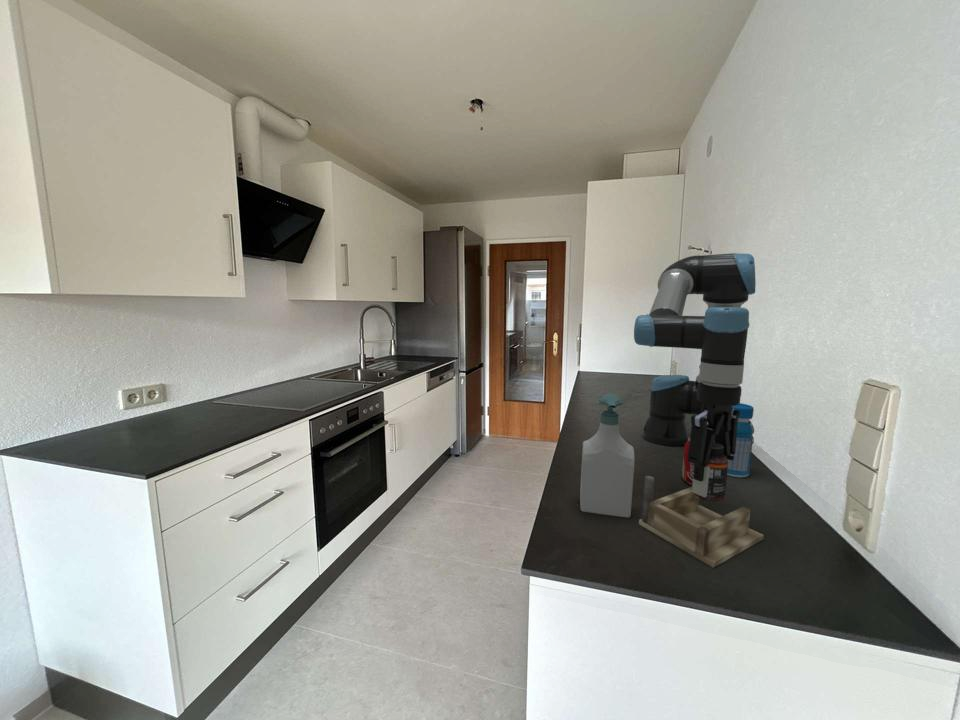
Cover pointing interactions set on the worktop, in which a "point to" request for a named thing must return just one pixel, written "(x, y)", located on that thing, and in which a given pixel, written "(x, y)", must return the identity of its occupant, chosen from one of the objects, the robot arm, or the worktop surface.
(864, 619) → the worktop surface
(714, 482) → the supplement bottle
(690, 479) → the soda can
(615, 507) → the soap bottle
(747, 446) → the beverage bottle
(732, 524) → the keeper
